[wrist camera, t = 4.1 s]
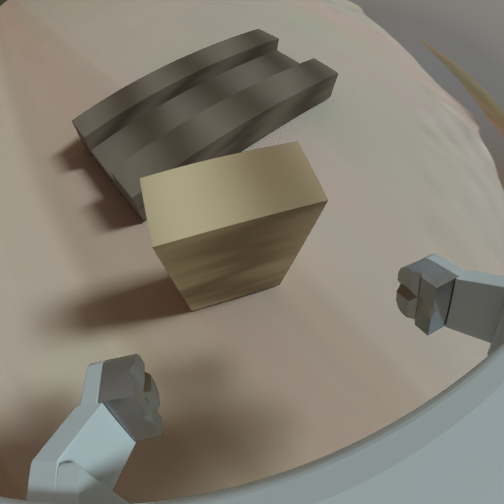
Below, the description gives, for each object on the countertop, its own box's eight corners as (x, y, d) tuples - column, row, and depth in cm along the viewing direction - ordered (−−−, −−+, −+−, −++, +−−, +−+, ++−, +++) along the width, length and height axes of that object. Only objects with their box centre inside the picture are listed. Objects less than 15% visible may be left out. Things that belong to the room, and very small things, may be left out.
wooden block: (191, 311, 18) (152, 247, 8) (181, 271, 19) (139, 177, 9) (279, 284, 19) (328, 200, 9) (265, 247, 20) (297, 140, 10)
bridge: (143, 221, 20) (132, 198, 17) (83, 144, 22) (71, 120, 19) (330, 96, 26) (338, 73, 23) (256, 51, 28) (258, 28, 25)
